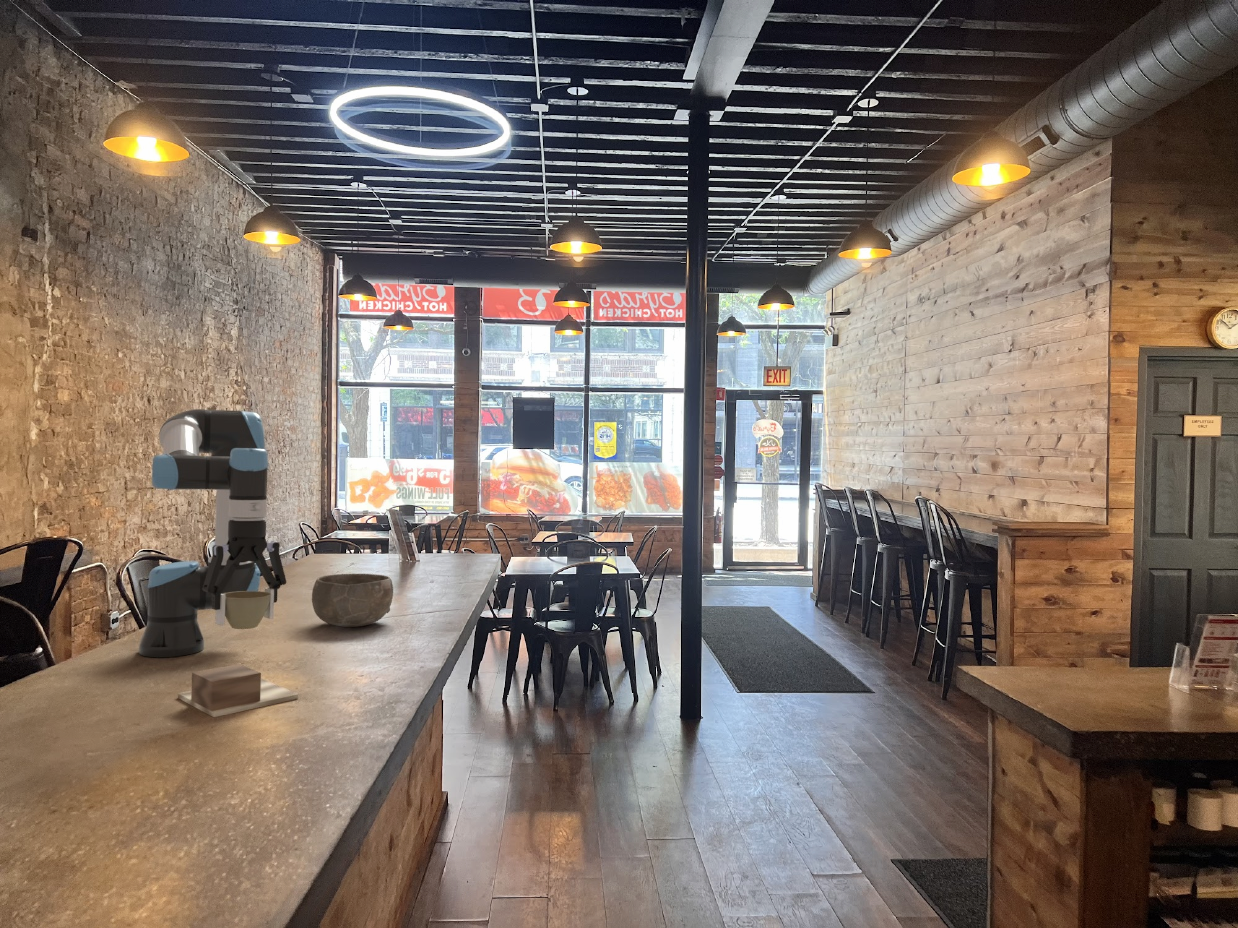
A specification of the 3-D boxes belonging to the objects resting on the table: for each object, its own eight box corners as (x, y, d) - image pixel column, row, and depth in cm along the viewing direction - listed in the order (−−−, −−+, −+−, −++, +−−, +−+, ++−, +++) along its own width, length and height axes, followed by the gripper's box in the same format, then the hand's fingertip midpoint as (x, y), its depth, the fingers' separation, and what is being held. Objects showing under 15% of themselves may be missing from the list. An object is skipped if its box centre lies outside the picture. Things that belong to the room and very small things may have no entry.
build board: (177, 697, 174) (177, 693, 174) (259, 681, 188) (259, 677, 188) (213, 717, 163) (213, 712, 163) (298, 698, 177) (298, 693, 177)
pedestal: (191, 700, 170) (192, 672, 170) (238, 690, 178) (239, 663, 177) (211, 711, 163) (212, 681, 163) (260, 700, 171) (260, 672, 171)
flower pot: (251, 633, 169) (252, 599, 169) (208, 630, 171) (209, 596, 171) (279, 623, 179) (280, 591, 179) (239, 621, 180) (240, 589, 180)
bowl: (409, 624, 255) (410, 577, 255) (346, 637, 234) (347, 586, 234) (358, 614, 268) (359, 569, 267) (294, 626, 247) (295, 577, 247)
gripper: (201, 522, 163) (198, 631, 163) (305, 518, 181) (302, 616, 181) (185, 519, 168) (182, 625, 168) (287, 515, 186) (285, 611, 186)
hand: (244, 621), depth 175 cm, fingers closed on flower pot, 10 cm apart
